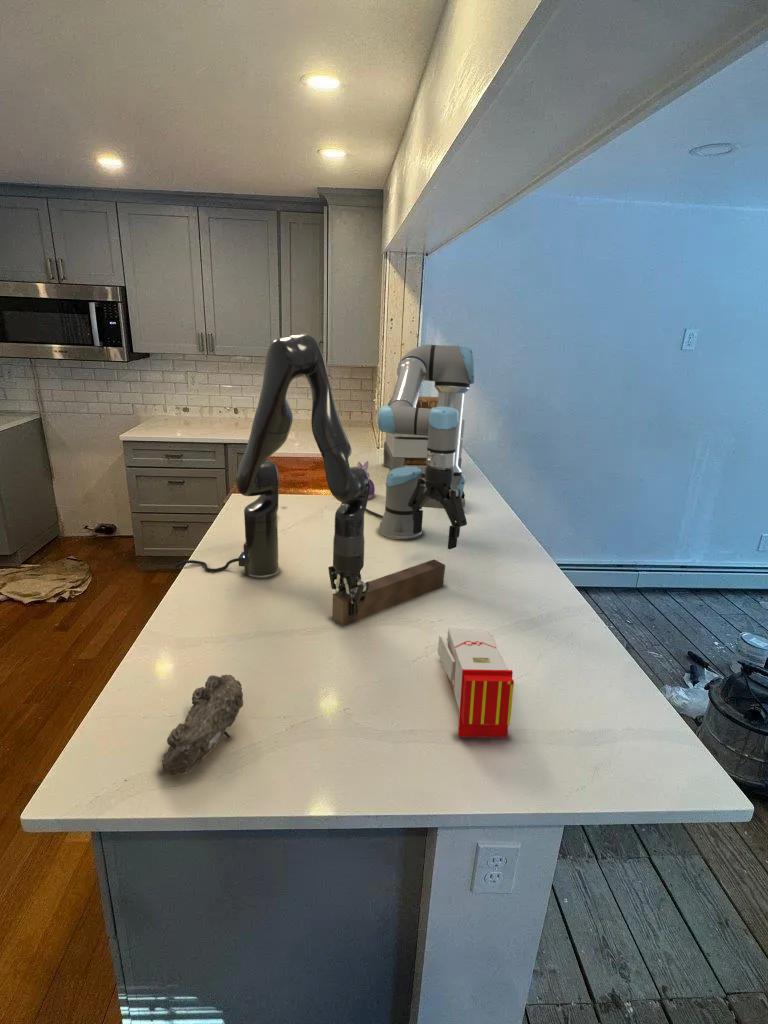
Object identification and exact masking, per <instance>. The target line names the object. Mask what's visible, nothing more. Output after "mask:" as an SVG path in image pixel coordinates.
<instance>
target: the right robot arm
mask: <svg viewBox="0 0 768 1024" xmlns="http://www.w3.org/2000/svg"><path fill="white" fill-rule="evenodd" d="M474 356H475V355H474V350H473V348H472V347H470V346H462V345H444V344H443V345H441V344H422V345H419V346H416V347H414V348H412V349H411V350H410V351H407V353H405V355H403V357H401V359H400V361H399V362H398V364H397V368H396V374H397V375H396V376H397V379H396V383H395V386H394V389H393V393H392V395H391V398H392V399H391V398H390V400H391V402H390V405H388V404H387V405H382V406H380V407H379V410H378V414H377V415H378V416H377V427H378V431H379V432H381V433H385V434H386V433H391V434H410V435H423V436H428V447H427V458H426V464H427V466H425V471H424V472H422V469H421V468H420V467H419V466H418V467H417V466H404V467H400V468H396V469H393V470H391V471H390V470H389V471H388V473H387V475H386V482H385V504H384V505H385V507H384V508H385V509H384V513H383V515H382V514H379V513H377V512H375V511H372V510H370V509H368V508H366V510H365V512H366V513H368V514H371V515H373V516H375V517H378V518H381V522H379V527H378V533H379V534H380V535H381V536H382V537H385V538H387V539H389V540H395V541H410V540H415V539H418V538H420V537H421V536H422V535H423V518H424V517H423V516H424V510H422V509H423V508H431V509H443V510H444V511H445V514H446V515H447V517H448V519H449V522H450V524H451V525H449V529H448V537H447V538H448V541H447V550H453V549H456V548H457V545H458V538H459V537H460V532H461V527H465V526H467V525H468V522H467V518H466V514H465V510H464V507H463V506H462V502H461V497H462V493H463V491H464V487H465V483H466V477H465V476H464V475H463V474H462V472H463V470H462V468H461V469H460V468H459V467H458V459H459V447H460V439H461V438H460V436H461V425H462V419H463V414H464V413H463V412H464V403H465V394H466V393H467V392H468V391H470V388H471V385H472V384H475V357H474ZM424 381H425V382H434V389H435V390H436V391H437V392H438V394H437V397H438V405H437V407H433V408H432V409H428V408H416V404H417V400H418V397H419V395H420V390H421V386H422V383H423V382H424Z"/></svg>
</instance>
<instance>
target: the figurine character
mask: <svg viewBox="0 0 768 1024" xmlns="http://www.w3.org/2000/svg"><path fill="white" fill-rule="evenodd" d="M465 496H466V494H465V492H464V490H463V493H462V497H461V502H462V506H463V508H465V505H466V497H465Z"/></svg>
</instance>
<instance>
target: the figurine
mask: <svg viewBox="0 0 768 1024" xmlns="http://www.w3.org/2000/svg"><path fill="white" fill-rule="evenodd" d="M357 467H360V468H362V469H364V470H365V471H366V473H367V474H368V477H369V480H370V492H369V497H368V500H370V499H372V498H374V496H375V491H376V488H375V484H374V482H373V481H372V479H370V473H369V471H368V468H369V460H367V461H365V463H364V464H363V465H362V462H360V461H358V462H357Z"/></svg>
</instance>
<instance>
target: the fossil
mask: <svg viewBox="0 0 768 1024" xmlns="http://www.w3.org/2000/svg"><path fill="white" fill-rule="evenodd" d="M243 696H244V694H243V687H242V684H241V682H240V680H237V679H236V678H235V677H234V676H233V675H232V674H222V675H221V676H217V675H209V676H208V677H207V678H206V681H205V684H204V686H201V687H197V688H195V690H193V693H192V697H191V704H192V705H191V707H190V709H189V710H188V713H187V715H186V716H185V719H184V723H178V724H177V726H176V727H175V728H173V729H172V730H171V731H170V734H169V735H168V737H167V738H166V743H167V745H168V748H167V750H166V752H165V753H163V755H162V757H163V759H161V766H162V771H163V773H168V774H169V775H170V776H174V775H178V774H183V773H185V774H189V773H190V772H191V771H192V770H193V769H194V767H196V766H197V765H198V764H199V763H200V762H202V760H203V759H204V758H205V757H206V756H207V755H208V754H209V753H210V752H211V751H213V750H214V749H215V747H216V746H217V743H218V741H220V740H221V739H222V737H223V736H225V737H226V738H228V739H230V738H231V735H230V734H229V733H228V732H227V729H228V728H231V727H232V725H233V724H234V723H235V722H236V719H237V717H238V714H239V713H240V710H241V709H242V708H243V707H244V699H243V698H244V697H243Z"/></svg>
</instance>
